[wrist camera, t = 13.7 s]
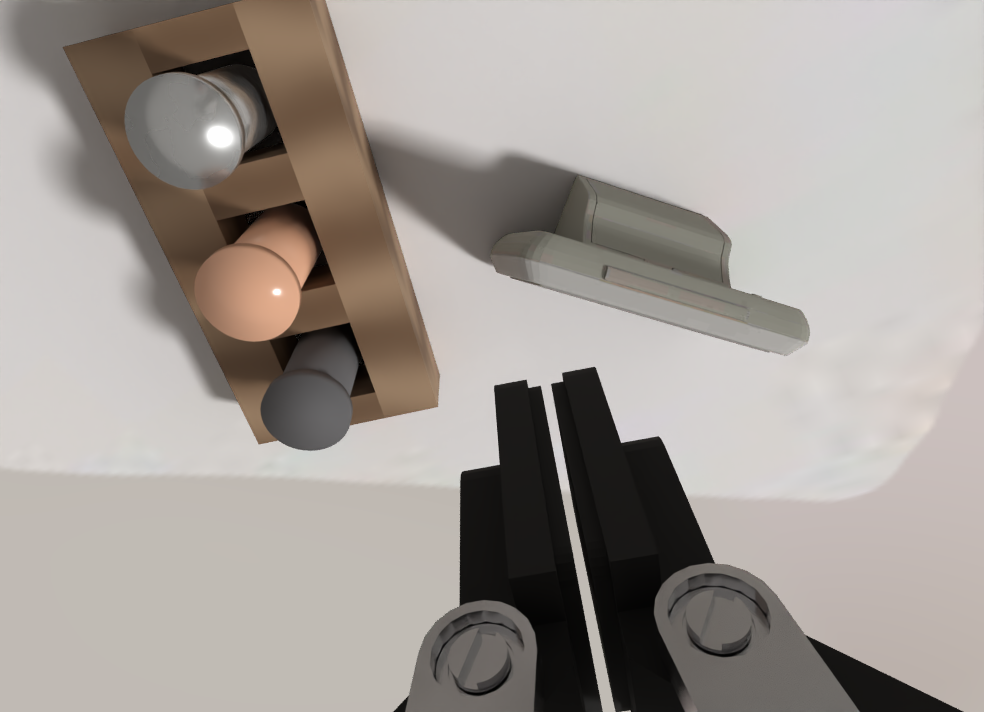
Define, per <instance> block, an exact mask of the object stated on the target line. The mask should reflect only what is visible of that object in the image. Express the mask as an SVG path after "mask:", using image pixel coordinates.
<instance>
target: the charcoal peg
mask: <svg viewBox="0 0 984 712" xmlns="http://www.w3.org/2000/svg"><path fill="white" fill-rule="evenodd" d="M361 355H362V354H361V352H360V349H359V346H358V343H357V341H356V338H355V335H354V333H353V330H352V327H351V324H350V323H345V324H341V325H336V326H331V327H327V328H322V329H318V330H313V331H309V332H304V333H302V334H301V336H300V339H299V341H298V343H297V345H296V347H295V349H294V351H293V353H292V356H291V358H290V360H289V362H288V364H287V366H286V368H285V370H284V373H283V374H282V375H280V376H278V377H277V378H276V379H274V380H273V381H272V383H271V384H270V385H269V387H268V388H267V390H266V393H265V395H264V397H263V399H262V402H261V408H260V411H261V418H262V421H263V423H264V425H265V427H266V429H267V430H268V431H269V433H270V434H271V435H272V436H273V437H275V438H276V439H277V440H278V441H280V442H281V443H283V444H285V445H287V446H290V447H292V448H296V449H300V450H309V451H312V450H321V449H325V448H328V447H330V446H332V445H334V444H336V443H337V442H339V441H340V440H341V439H342V438H343V437H344V436H345V434H346V433H347V431H348V429H349V426H350V422H351V418H352V414H353V405H352V401H351V398H350V395H351V391H352V388H353V384H354V380H355V377H356V373H357V370H358V366H359V362H360V359H361Z"/></svg>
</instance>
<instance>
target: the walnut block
mask: <svg viewBox="0 0 984 712" xmlns="http://www.w3.org/2000/svg"><path fill="white" fill-rule="evenodd" d="M63 49H64V51H65V53H66V55H67V57H68V59H69V61H70V63H71V65H72V67H73V69H74V71H75V73H76V75H77V77H78V79H79V81H80V83H81V85H82V87H83V89H84V91H85V93H86V95H87V97H88V99H89V102H90V104H91V106H92V108H93V110H94V112H95V114H96V116H97V118H98V120H99V122H100V124H101V126H102V128H103V130H104V132H105V134H106V136H107V138H108V140H109V142H110V144H111V146H112V148H113V150H114V152H115V154H116V156H117V158H118V160H119V162H120V164H121V166H122V168H123V170H124V172H125V174H126V176H127V178H128V180H129V182H130V185H131V187H132V189H133V191H134V193H135V195H136V197H137V199H138V201H139V203H140V205H141V207H142V209H143V211H144V213H145V215H146V217H147V219H148V221H149V223H150V225H151V227H152V229H153V231H154V233H155V235H156V237H157V239H158V241H159V243H160V245H161V247H162V249H163V251H164V253H165V255H166V257H167V259H168V261H169V263H170V265H171V268H172V270H173V272H174V274H175V276H176V278H177V280H178V282H179V284H180V286H181V288H182V290H183V292H184V294H185V296H186V298H187V300H188V302H189V304H190V306H191V308H192V310H193V312H194V314H195V316H196V318H197V320H198V322H199V324H200V326H201V328H202V330H203V332H204V334H205V336H206V338H207V340H208V342H209V344H210V346H211V348H212V350H213V353H214V355H215V357H216V359H217V361H218V363H219V365H220V367H221V369H222V371H223V373H224V375H225V377H226V379H227V381H228V383H229V385H230V387H231V389H232V391H233V393H234V395H235V397H236V399H237V401H238V403H239V405H240V407H241V409H242V411H243V413H244V415H245V417H246V419H247V421H248V423H249V425H250V427H251V429H252V431H253V433H254V436H255V438H256V440H257V442H258V444H263V443H268V442H273V441H278V440H277V439H276V438H275V437H273V436H272V435H271V434H270V433H269V431H268V430H267V429H266V427H265V425H264V423H263V421H262V418H261V411H260V408H261V402H262V399H263V397H264V395H265V393H266V390H267V388H268V387H269V385H270V384H271V383H272V381H273V380H274V379H276V378H277V377H278V376H280V375H282V374H283V373H284V370H285V368H286V366H287V364H288V362H289V360H290V358H291V356H292V353H293V351H294V349H295V347H296V345H297V343H298V342H297V339H296V337H295V334H300V333H304V332H309V331H313V330H318V329H322V328H327V327H331V326H336V325H341V324H345V323H350V324H351V327H352V330H353V333H354V335H355V338H356V341H357V343H358V346H359V349H360V352H361V354H362V357H363V360H364V363H365V365H361V366H358V370H357V373H356V377H355V380H354V384H353V388H352V391H351V395H350V398H351V401H352V405H353V414H352V418H351V422H350V425H354V424H358V423H363V422H368V421H373V420H377V419H382V418H387V417H392V416H397V415H401V414H406V413H411V412H416V411H420V410H425V409H430V408H435V407H438V395H439V378H440V374H439V371H438V368H437V365H436V361H435V358H434V355H433V351H432V348H431V345H430V342H429V338H428V335H427V332H426V329H425V325H424V322H423V319H422V315H421V312H420V309H419V306H418V302H417V299H416V296H415V293H414V289H413V286H412V283H411V279H410V276H409V273H408V270H407V266H406V263H405V260H404V257H403V253H402V250H401V247H400V243H399V240H398V237H397V234H396V230H395V227H394V224H393V221H392V217H391V214H390V211H389V207H388V204H387V201H386V198H385V194H384V191H383V188H382V185H381V181H380V178H379V175H378V171H377V168H376V165H375V162H374V158H373V155H372V152H371V149H370V145H369V142H368V139H367V135H366V132H365V129H364V126H363V122H362V119H361V116H360V113H359V109H358V106H357V103H356V99H355V96H354V93H353V90H352V86H351V83H350V80H349V77H348V73H347V70H346V67H345V63H344V60H343V57H342V54H341V50H340V47H339V44H338V41H337V37H336V34H335V31H334V27H333V24H332V21H331V18H330V14H329V11H328V8H327V5H326V1H325V0H241V1H238V2H234V3H230V4H226V5H222V6H218V7H215V8H211V9H207V10H203V11H199V12H195V13H192V14H188V15H184V16H180V17H176V18H172V19H169V20H165V21H161V22H157V23H153V24H150V25H146V26H142V27H138V28H134V29H130V30H127V31H123V32H119V33H115V34H111V35H107V36H104V37H100V38H96V39H92V40H88V41H84V42H81V43H77V44H73V45H69V46H65V47H63ZM248 49H249V50H250V52H251V55H252V58H253V60H254V63H255V66H256V69H257V71H258V74H259V77H260V80H261V82H262V85H263V88H264V90H265V93H266V96H267V99H268V101H269V104H270V107H271V109H272V112H273V115H274V118H275V120H276V123H277V126H278V128H279V131H280V134H281V137H282V139H283V142H284V143H282V144H278V145H274V146H270V147H266V148H262V149H258V150H253V151H249V152H245V153H244V155H243V157H242V160H241V162H240V164H239V166H238V167H237V168H236V170H235V171H234V172H233V173H232V174H231V175H230V176H228V177H227V178H226V179H225V180H223V181H222V182H220V183H219V184H217V185H215V186H212V187H209V188H206V189H199V190H191V189H183V188H179V187H176V186H173V185H170V184H168V183H166V182H164V181H162V180H161V179H159V178H157V177H156V176H155V175H153V174H152V173H151V172H150V171H149V170H148V169H146V168H145V167H144V165H143V164H142V163H141V162H140V161H139V159H138V158H137V157H136V155H135V154H134V152H133V150H132V148H131V146H130V144H129V141H128V138H127V135H126V130H125V119H124V117H125V109H126V105H127V102H128V100H129V98H130V96H131V94H132V93H133V91H134V90H135V89H136V88H137V87H138V86H139V85H140V84H141V83H142V82H144V81H145V80H147V79H149V78H152V77H154V76H157V75H161V74H165V73H171V72H184V73H185V71H184V69H183V67H182V66H185V65H189V64H193V63H197V62H201V61H205V60H208V59H212V58H216V57H220V56H224V55H228V54H232V53H236V52H240V51H244V50H248ZM302 200H305V202H306V205H307V207H308V210H309V213H310V216H311V218H312V221H313V224H314V226H315V229H316V232H317V235H318V237H319V240H320V243H321V246H322V248H323V251H324V254H325V256H326V259H327V262H328V264H324V265H320V266H315V267H313V268H312V270H311V272H310V274H309V275H308V277H307V279H306V281H305V283H304V285H303V286H302V288H301V292H302V299H301V305H300V309H299V311H298V313H297V315H296V317H295V319H294V321H293V322H292V324H291V325H290V327H289V328H288V329H287V330H286V331H284V332H283V333H282V334H280V335H279V336H277V337H275V338H272V339H269V340H265V341H255V342H252V341H244V340H239V339H236V338H233V337H230V336H228V335H226V334H224V333H223V332H221V331H219V330H218V329H217V328H215V327H214V326H213V325H212V324H211V323H210V322H209V321H208V320H207V319H206V318H205V316H204V315H203V314H202V312H201V310H200V308H199V306H198V304H197V301H196V297H195V291H194V286H195V279H196V275H197V273H198V271H199V269H200V267H201V266H202V264H203V263H204V262H205V261H206V260H207V259H208V258H209V257H210V256H211V255H212V254H213V253H214V252H216V251H217V250H219V249H220V248H222V247H224V246H227V245H231V244H234V243H235V242H236V241H237V240H238V239H239V238H240V236H241V235H242V234H243V233H244V232H245V231H246V230H247V229H248V228H249V224H248V222H247V220H246V217H245V215H244V214H247V213H251V212H255V211H260V210H264V209H268V208H272V207H276V206H281V205H285V204H289V203H293V202H298V201H302Z"/></svg>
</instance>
